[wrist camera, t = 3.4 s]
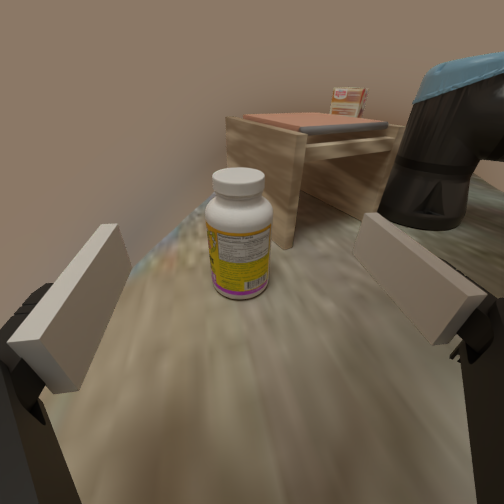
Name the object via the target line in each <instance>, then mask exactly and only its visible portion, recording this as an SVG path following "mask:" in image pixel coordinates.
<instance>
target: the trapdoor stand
mask: <svg viewBox="0 0 504 504" xmlns="http://www.w3.org/2000/svg"><path fill="white" fill-rule="evenodd" d="M225 119H226V143H227V167H228V168H236V167H245V168H252V169H257V170H259V171H261V172H263V173H264V175H265V188H264V190H263V193H262V196H263V197H264V198H266V199H267V200H268V201H269V202H270V204H271V205H272V208H273V223H272V237H271V239H272V240H273V241H274V242H275V243H276V244H277V245H279V246H280V247H281V248H282V249H283V250H285V249H289V248H292V245H293V238H294V230H295V223H296V216H297V208H298V201H299V194H300V190H302V191H304V192H306V193H308V194H310V195H312V196H314V197H316V198H318V199H320V200H321V201H323V202H325V203H327V204H329V205H331V206H333V207H335V208H337V209H339V210H341V211H343V212H345V213H347V214H349V215H350V216H352V217H354V218H356V219H358V220H360V221H362V219H363V216H364V213H374V212H377V210H378V207H379V204H380V201H381V198H382V195H383V193H384V190H385V187H386V184H387V181H388V178H389V175H390V172H391V169H392V166H393V164H394V161H395V158H396V155H397V152H398V149H399V146H400V143H401V140H402V137H403V135H404V132H405V129H406V126H399V125H391V124H389V125H388V128H387V129H385V130H372V131H360V132H348V133H335V134H323V135H311V136H307V135H308V134H304V133H300V132H296V131H292V130H288V129H283V128H279V127H275V126H271V125H267V124H263V123H258V122H254V121H250V120H246V119H242V118H238V117H225Z"/></svg>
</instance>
